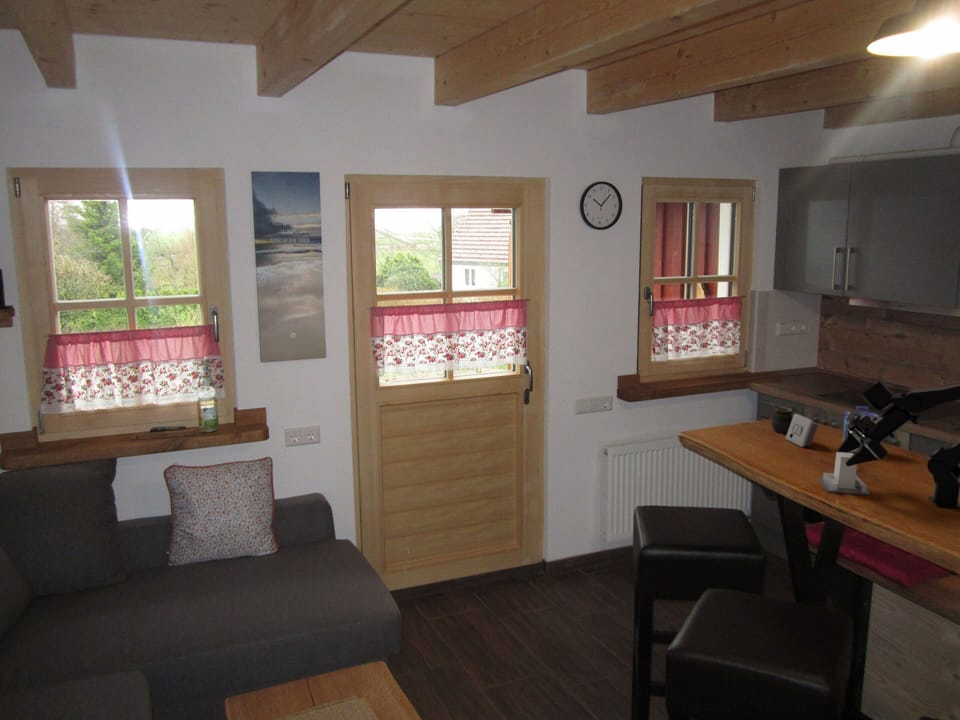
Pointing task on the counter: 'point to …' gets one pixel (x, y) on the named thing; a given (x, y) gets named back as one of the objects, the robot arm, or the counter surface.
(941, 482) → the robot arm
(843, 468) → the block
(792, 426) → the electrical switch
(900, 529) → the counter surface
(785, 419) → the mate gourd
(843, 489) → the rail cradle
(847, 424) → the ink cartridge box
